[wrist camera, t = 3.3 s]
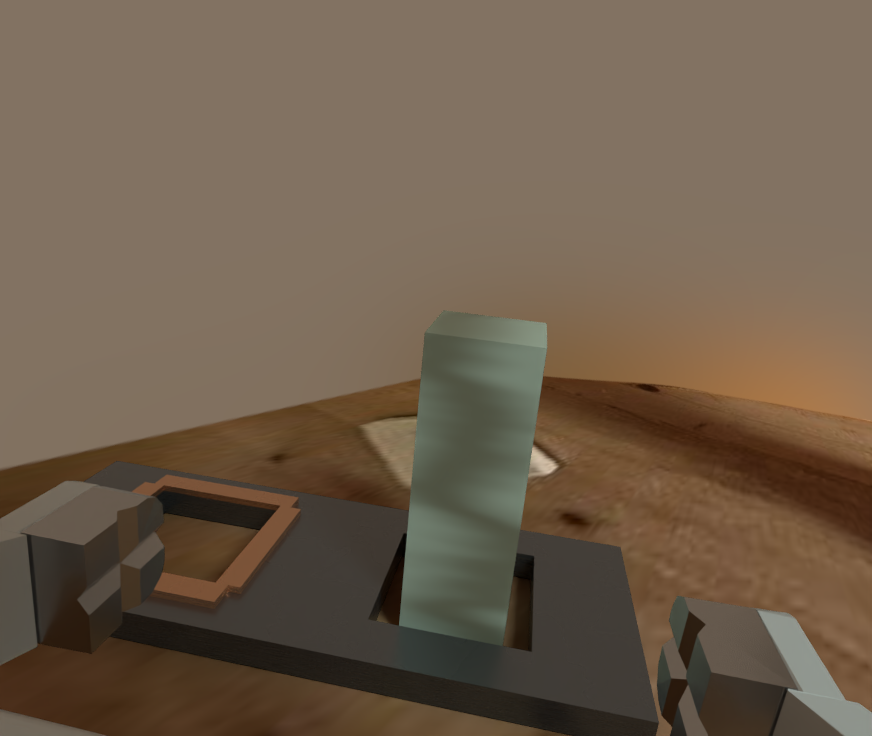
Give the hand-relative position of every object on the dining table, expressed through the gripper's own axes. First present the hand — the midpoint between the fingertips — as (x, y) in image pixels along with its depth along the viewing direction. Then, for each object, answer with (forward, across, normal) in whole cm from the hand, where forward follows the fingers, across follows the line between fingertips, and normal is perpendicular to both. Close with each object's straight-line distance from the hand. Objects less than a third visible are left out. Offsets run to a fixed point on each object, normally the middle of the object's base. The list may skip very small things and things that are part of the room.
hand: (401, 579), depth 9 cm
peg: (+13, 0, +11) cm, 17 cm away
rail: (+13, +6, +11) cm, 18 cm away
